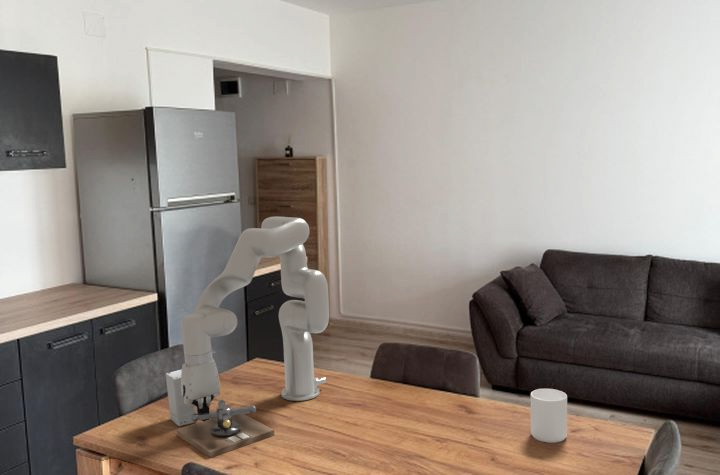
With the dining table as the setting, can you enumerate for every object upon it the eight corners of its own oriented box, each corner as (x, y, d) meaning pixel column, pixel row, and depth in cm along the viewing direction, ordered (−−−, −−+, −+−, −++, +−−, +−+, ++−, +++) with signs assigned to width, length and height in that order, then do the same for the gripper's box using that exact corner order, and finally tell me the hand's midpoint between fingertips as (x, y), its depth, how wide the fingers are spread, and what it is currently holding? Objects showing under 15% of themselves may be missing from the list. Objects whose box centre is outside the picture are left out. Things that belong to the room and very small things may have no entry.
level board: (238, 415, 203) (238, 410, 203) (274, 435, 188) (274, 429, 187) (177, 435, 190) (176, 429, 190) (210, 457, 175) (210, 451, 175)
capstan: (191, 422, 195) (189, 401, 194) (253, 413, 200) (251, 393, 199) (193, 447, 177) (192, 425, 177) (261, 436, 182) (260, 415, 182)
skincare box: (197, 422, 199) (193, 374, 197) (177, 427, 196) (173, 379, 194) (187, 414, 206) (184, 367, 204) (168, 418, 202) (164, 371, 201)
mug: (530, 441, 177) (529, 399, 176) (532, 424, 189) (531, 384, 187) (567, 445, 174) (567, 402, 173) (566, 426, 186) (566, 386, 184)
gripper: (216, 348, 194) (221, 408, 197) (167, 361, 185) (173, 423, 187) (228, 354, 188) (233, 415, 191) (179, 367, 179) (185, 431, 182)
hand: (204, 419), depth 189 cm, fingers closed
